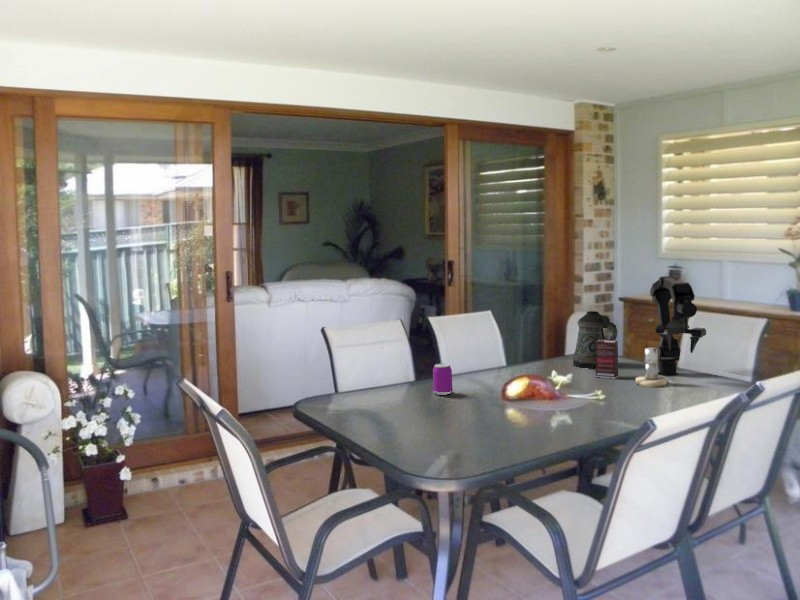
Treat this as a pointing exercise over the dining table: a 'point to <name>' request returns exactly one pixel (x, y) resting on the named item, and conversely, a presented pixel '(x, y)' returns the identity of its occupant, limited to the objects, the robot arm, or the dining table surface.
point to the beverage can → (442, 377)
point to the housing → (651, 363)
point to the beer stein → (591, 338)
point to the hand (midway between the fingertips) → (680, 351)
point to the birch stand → (651, 382)
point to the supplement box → (606, 359)
